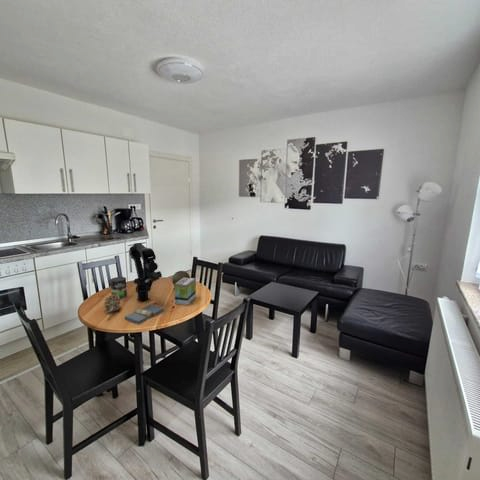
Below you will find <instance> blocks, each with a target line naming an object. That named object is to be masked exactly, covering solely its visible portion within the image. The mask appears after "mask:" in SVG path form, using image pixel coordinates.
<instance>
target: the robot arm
mask: <svg viewBox="0 0 480 480" xmlns="http://www.w3.org/2000/svg"><path fill="white" fill-rule="evenodd" d="M128 255H129V256H130V259H132V261H133V262H134V266H135V270H136V275H137V277H136V278H135V279H133V284H136V287H135V292H136V293H137V299H136V301H138V302H142V303H145V302H146V301H148V300H151V297H149V292H150V291H151V289H152V285H153V282H155V281H158V280H160V278H162V277H163V275H162V272H161V271H159V270H158V267H159V265H158V263H157V262H155V261H156V260H157V259H156V254H155V251H154V250H153V248H150V247H146V246H144V245H143V243H141V242H138V243H137V242H135V243H133V245H132V246H130V248H128ZM157 270H158V271H157Z"/></svg>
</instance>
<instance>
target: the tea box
mask: <svg viewBox="0 0 480 480" xmlns="http://www.w3.org/2000/svg"><path fill="white" fill-rule="evenodd" d="M196 279H197V278H195V277H190V278H182V279H181V280H179V281H178V282H177V283H175V286H174V304H175V305H181V306H182V305H185V306H188V305H189V304H190V303H192V302H193V300H194V299H195V298H196V296H197V293H196V292H197V284H196V283H197V281H196Z"/></svg>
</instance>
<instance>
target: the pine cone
mask: <svg viewBox="0 0 480 480" xmlns="http://www.w3.org/2000/svg"><path fill="white" fill-rule="evenodd" d="M119 298H120V297H119V295H118V296H117V294H114V295H113V294H112V295H111V294H110V295H108V296H107V297H106V298H105V301H104V308H105V310H106V312H105V313H106V314H110V313H113V312H116V311H117V310H118V309H119V308H120V306H121V301H122V300H121V299H119Z"/></svg>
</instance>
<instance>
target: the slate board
mask: <svg viewBox="0 0 480 480" xmlns="http://www.w3.org/2000/svg"><path fill="white" fill-rule="evenodd" d="M140 309H143V310H147V311H151V312H152V313H153V315H152V317H156V316H158V315H159V314H161V313H163V312H164V311H165V308H164V307H161V306H158V305H155V304H152V303H151V304H148V305H146V306H144V307H141V308H140ZM124 320H125V321H128V322H131V323H134V324H137V325H141V324H142V323H144V322H147V321H148V318H147V317H145V316H142V315H139V314H136V313H134V312H131V313H128V314H127V315H124Z"/></svg>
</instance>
